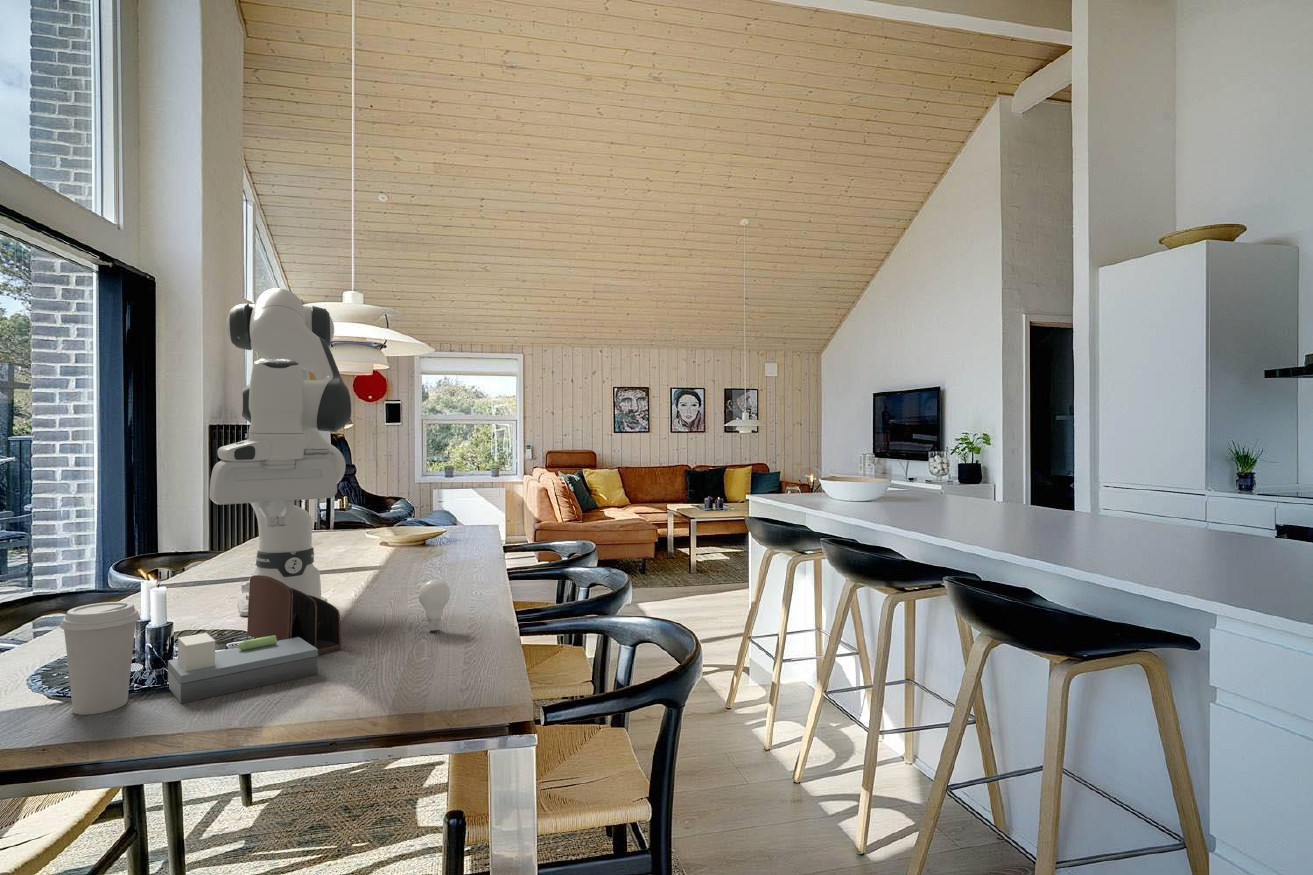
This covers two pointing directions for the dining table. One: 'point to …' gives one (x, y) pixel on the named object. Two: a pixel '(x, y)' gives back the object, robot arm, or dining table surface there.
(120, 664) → the coffee cup
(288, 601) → the letter holder
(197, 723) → the dining table surface
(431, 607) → the lightbulb
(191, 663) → the tilted grey plate
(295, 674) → the base
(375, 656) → the dining table surface
